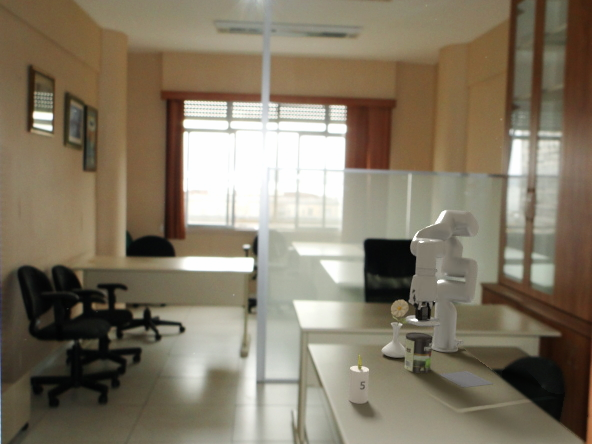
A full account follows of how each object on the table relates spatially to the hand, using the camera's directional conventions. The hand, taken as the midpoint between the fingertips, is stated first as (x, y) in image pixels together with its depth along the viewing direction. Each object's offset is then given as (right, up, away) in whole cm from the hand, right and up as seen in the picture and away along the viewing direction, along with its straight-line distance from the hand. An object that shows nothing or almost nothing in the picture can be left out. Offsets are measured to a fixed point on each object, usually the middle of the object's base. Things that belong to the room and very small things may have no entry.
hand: (422, 318), depth 205 cm
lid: (0, -2, 0) cm, 2 cm away
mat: (+14, -22, -8) cm, 28 cm away
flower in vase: (-7, -20, +19) cm, 28 cm away
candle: (-29, -22, -30) cm, 47 cm away
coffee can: (-2, -21, +2) cm, 21 cm away
